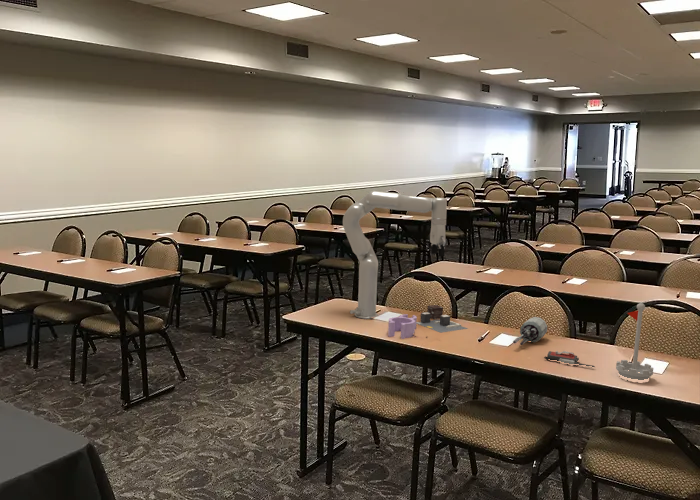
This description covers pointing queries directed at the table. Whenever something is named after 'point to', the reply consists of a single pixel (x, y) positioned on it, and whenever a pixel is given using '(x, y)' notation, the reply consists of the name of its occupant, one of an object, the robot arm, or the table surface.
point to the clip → (402, 326)
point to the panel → (441, 326)
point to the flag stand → (635, 353)
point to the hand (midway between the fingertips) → (437, 255)
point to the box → (435, 311)
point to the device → (532, 330)
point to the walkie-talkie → (564, 357)
